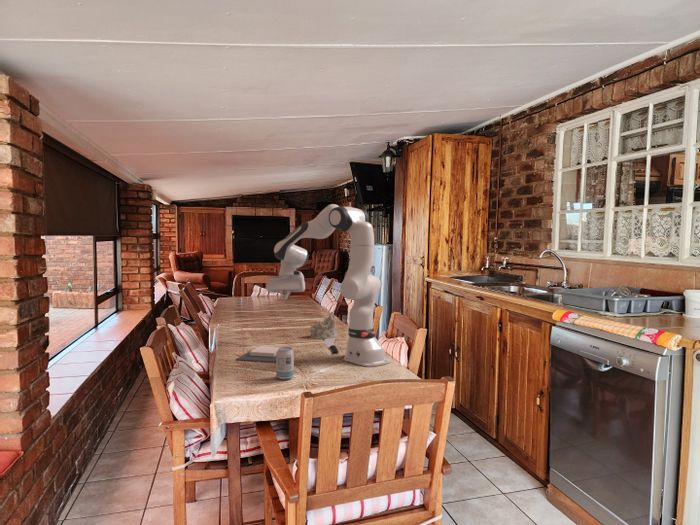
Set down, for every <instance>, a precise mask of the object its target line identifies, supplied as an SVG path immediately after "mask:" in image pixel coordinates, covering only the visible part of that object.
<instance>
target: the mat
mask: <svg viewBox="0 0 700 525" xmlns="http://www.w3.org/2000/svg"><path fill="white" fill-rule="evenodd" d="M252 350H253V349H252ZM252 350H249V351H247V352H245V353H243V354H242V355H241V356H239V357H237V358H235V361H237V360H242V361H241V362H253V361H260V362H259V363H269V362H274V363H273V364H276V356H275V357H259V356H251V355H250V351H252Z"/></svg>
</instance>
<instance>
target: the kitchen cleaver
mask: <svg viewBox="0 0 700 525" xmlns="http://www.w3.org/2000/svg"><path fill="white" fill-rule="evenodd" d="M335 340H336V338H329V339H325V342H326V344H327V346H328V347H329V348H328V349H330V348H331V349H330V350H331V351H332V355H339V354H338V353H340V352H339V350H338V348H337V346H336V344H335Z"/></svg>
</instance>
